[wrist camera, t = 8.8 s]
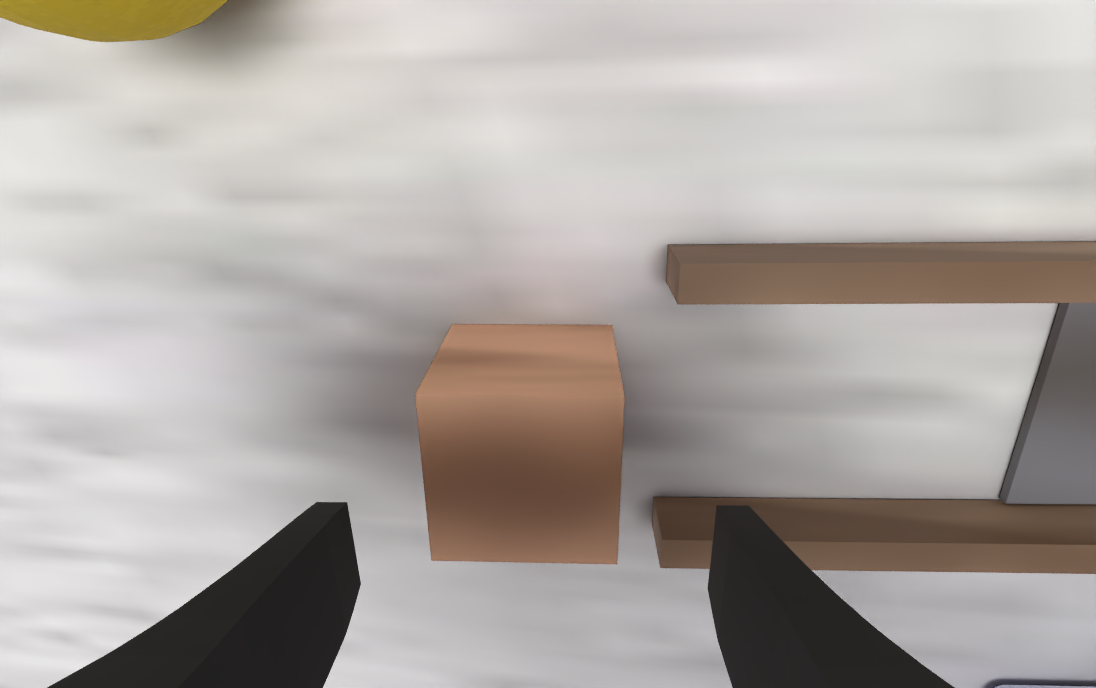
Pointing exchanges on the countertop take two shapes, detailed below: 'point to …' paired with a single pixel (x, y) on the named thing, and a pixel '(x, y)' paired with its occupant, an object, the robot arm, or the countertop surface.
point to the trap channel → (914, 524)
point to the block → (523, 444)
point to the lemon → (109, 17)
